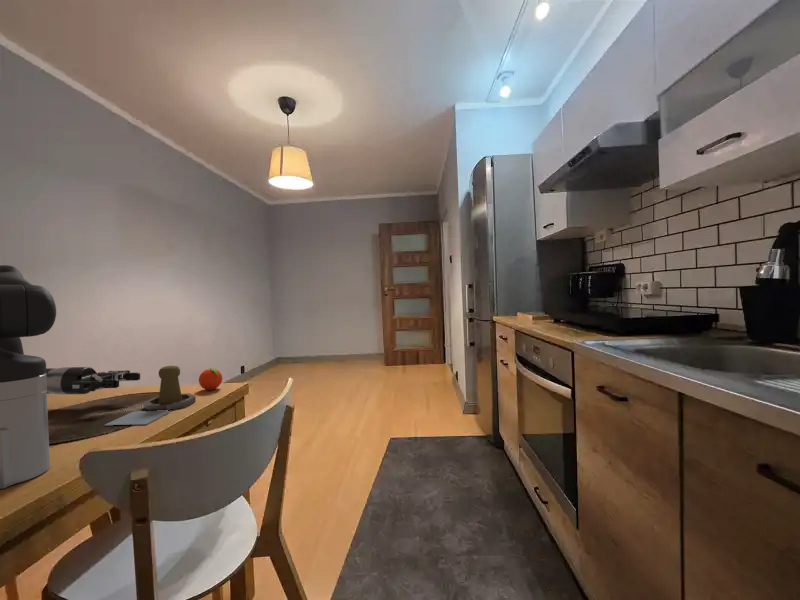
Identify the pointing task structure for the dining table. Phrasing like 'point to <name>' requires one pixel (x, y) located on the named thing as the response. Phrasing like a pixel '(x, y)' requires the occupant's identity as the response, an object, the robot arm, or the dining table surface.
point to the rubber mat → (138, 418)
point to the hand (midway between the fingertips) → (129, 379)
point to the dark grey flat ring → (153, 406)
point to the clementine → (210, 379)
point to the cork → (169, 385)
